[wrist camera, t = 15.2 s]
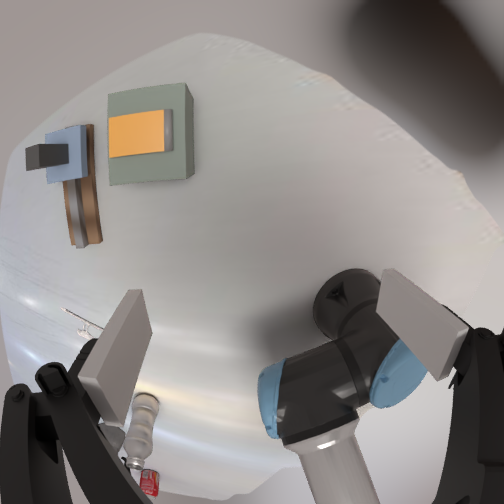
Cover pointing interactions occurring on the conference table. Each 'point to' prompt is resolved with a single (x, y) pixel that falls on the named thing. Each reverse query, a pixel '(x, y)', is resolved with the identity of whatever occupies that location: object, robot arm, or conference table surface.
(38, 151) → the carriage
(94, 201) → the rail
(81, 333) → the picture light
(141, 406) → the plastic bottle
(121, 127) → the orange slab
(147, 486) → the soda can
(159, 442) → the conference table surface
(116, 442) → the coffeepot
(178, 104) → the gauge cabinet
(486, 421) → the robot arm
